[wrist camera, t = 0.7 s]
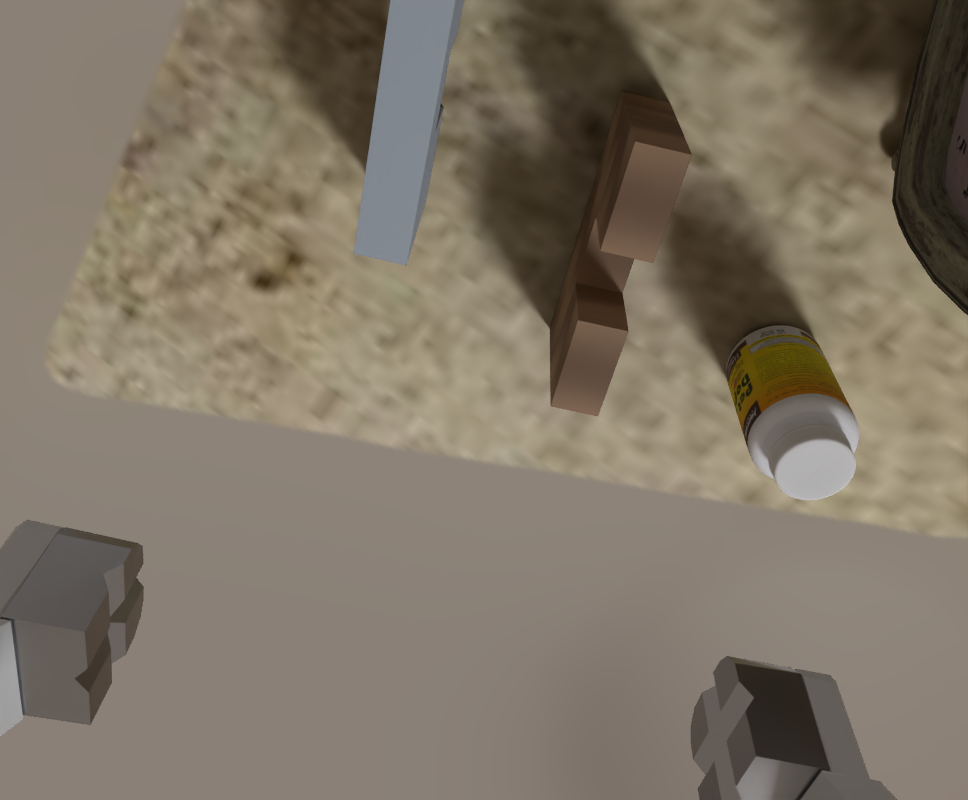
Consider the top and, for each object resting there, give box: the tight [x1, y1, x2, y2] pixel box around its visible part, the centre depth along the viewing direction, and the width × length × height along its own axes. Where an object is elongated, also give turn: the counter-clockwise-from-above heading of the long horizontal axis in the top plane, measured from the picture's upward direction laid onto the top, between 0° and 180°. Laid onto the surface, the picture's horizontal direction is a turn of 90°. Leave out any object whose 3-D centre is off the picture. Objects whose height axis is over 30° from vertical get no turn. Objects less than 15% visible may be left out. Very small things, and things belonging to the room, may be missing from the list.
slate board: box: [354, 0, 464, 265], centre depth 40 cm, size 14×2×8 cm, turn 168°
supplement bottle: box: [726, 325, 859, 500], centre depth 48 cm, size 6×6×10 cm
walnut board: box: [550, 91, 692, 416], centre depth 44 cm, size 14×2×8 cm, turn 168°
